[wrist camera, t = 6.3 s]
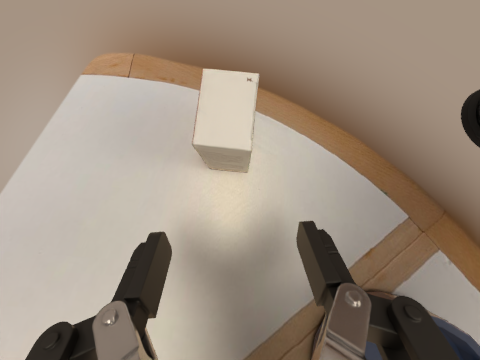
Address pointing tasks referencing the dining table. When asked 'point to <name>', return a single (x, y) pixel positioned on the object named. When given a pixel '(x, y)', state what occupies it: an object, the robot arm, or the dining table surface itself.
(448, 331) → the glazed bowl
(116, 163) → the dining table surface
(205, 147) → the small box
